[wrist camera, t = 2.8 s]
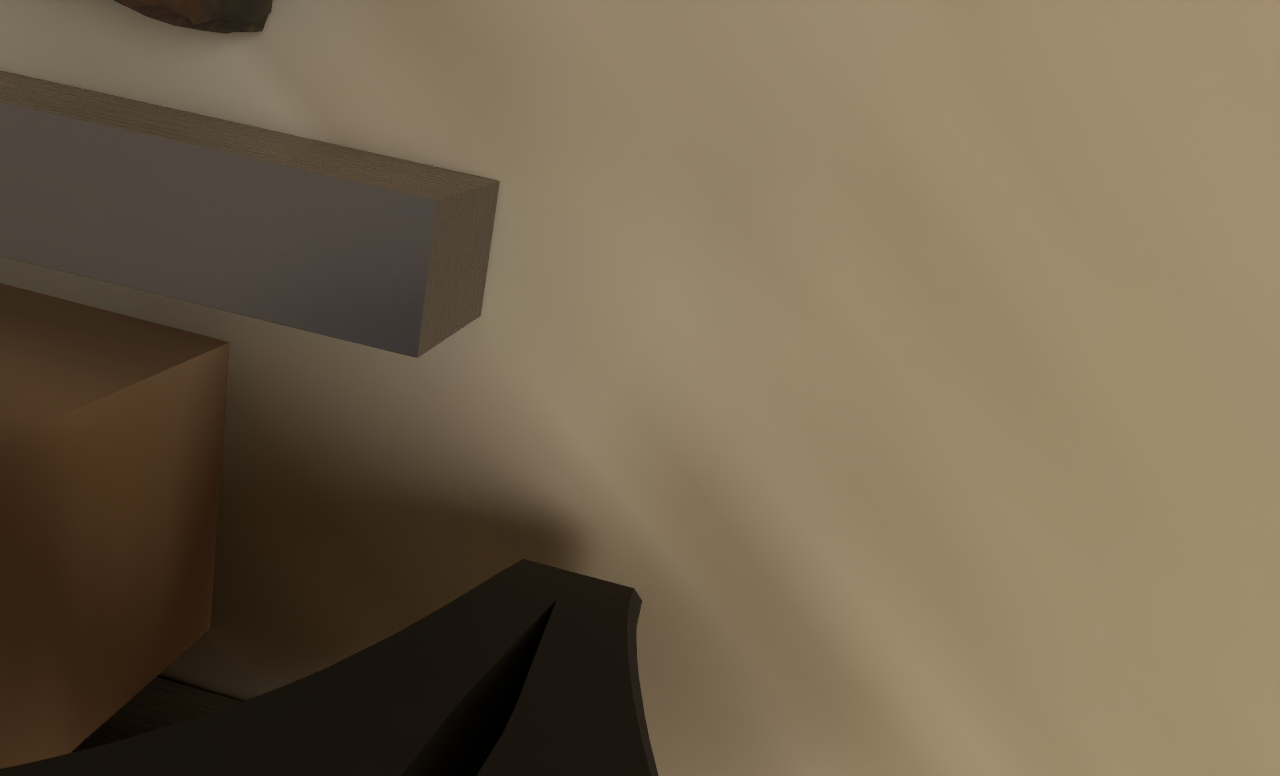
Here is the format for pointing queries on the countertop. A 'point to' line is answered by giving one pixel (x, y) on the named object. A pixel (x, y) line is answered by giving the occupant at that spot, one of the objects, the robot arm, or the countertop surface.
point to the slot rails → (237, 241)
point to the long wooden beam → (100, 512)
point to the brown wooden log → (206, 13)
